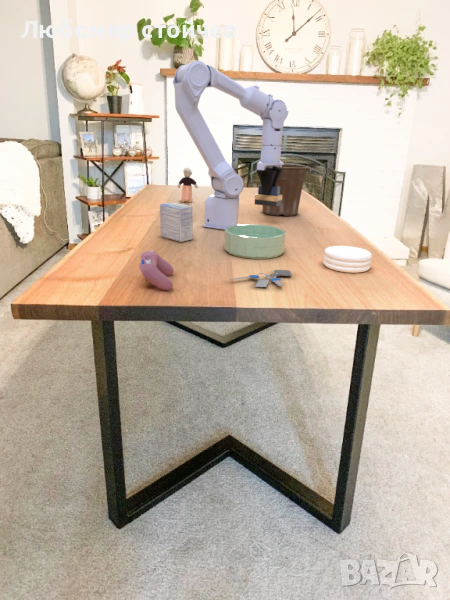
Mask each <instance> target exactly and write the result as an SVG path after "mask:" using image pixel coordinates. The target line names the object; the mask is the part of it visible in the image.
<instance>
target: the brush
mask: <svg viewBox="0 0 450 600" xmlns="http://www.w3.org/2000/svg"><path fill="white" fill-rule="evenodd" d="M254 205H256V206H257V205H258V206H263V205H264V206H273V207H277V206H280V205H282V195H280V186H272V188H271V192H270V195H266V194H263V193H262V187H261V184H258V189H257V193H255V194H254Z"/></svg>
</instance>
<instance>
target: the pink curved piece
mask: <svg viewBox="0 0 450 600" xmlns="http://www.w3.org/2000/svg"><path fill="white" fill-rule="evenodd" d="M138 266H139V270H140V272H141V274H142V276H143V278H144V280H146V281H147V282H148V283H149V284H150V285H151V286H153V287H156V288H158V289H159V290H162V291H171V290H172V289H173V281H172V280H171V279H170V276H172V275H173V274H174V272H175V271H174V267H173V266H172V265H171V264H170V263H169V262H168V261H167V260H165V259H163V258H162V257H161V256H160V254H158V252H155V251H154V249H152V250H147V251H145V252H142V253H141V254H140V263H139V264H138Z"/></svg>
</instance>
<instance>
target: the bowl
mask: <svg viewBox="0 0 450 600" xmlns="http://www.w3.org/2000/svg"><path fill="white" fill-rule="evenodd" d="M286 235H287V232H286V230H284V229H282V228H280V227H277V226H272V225H265V224H254V223H253V224H252V223H251V224H247V223H246V224H242V225H234V226H230V227H227V228H226V229H225V230H224V241H223V242H224V243H223V248H224V250H225V251H226V252H227V253H228V254H229V255H232V256H235V257H237V258H241V259H242V258H243V259H250V260H267V259H274V258H278V257H280V256H281V255H282V254H284V253H285V245H286Z"/></svg>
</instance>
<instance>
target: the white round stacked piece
mask: <svg viewBox="0 0 450 600" xmlns="http://www.w3.org/2000/svg"><path fill="white" fill-rule="evenodd" d="M323 253H324V255H323V261H322V262H323V265H324V267H326V268H328V269H330V270H332V271H336V272H341V273H349V274H350V273H351V274H352V273H353V274H356V273H357V274H359V273H363V272H367V271H369V270H370V268H371V264H372V258H373V254H372V253H371V252H370V251H369V250H367V249H366V248H365V249H364V248H362V247H357V246H351V245H331V246H328V247H326V248H325V249H324V252H323Z"/></svg>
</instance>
